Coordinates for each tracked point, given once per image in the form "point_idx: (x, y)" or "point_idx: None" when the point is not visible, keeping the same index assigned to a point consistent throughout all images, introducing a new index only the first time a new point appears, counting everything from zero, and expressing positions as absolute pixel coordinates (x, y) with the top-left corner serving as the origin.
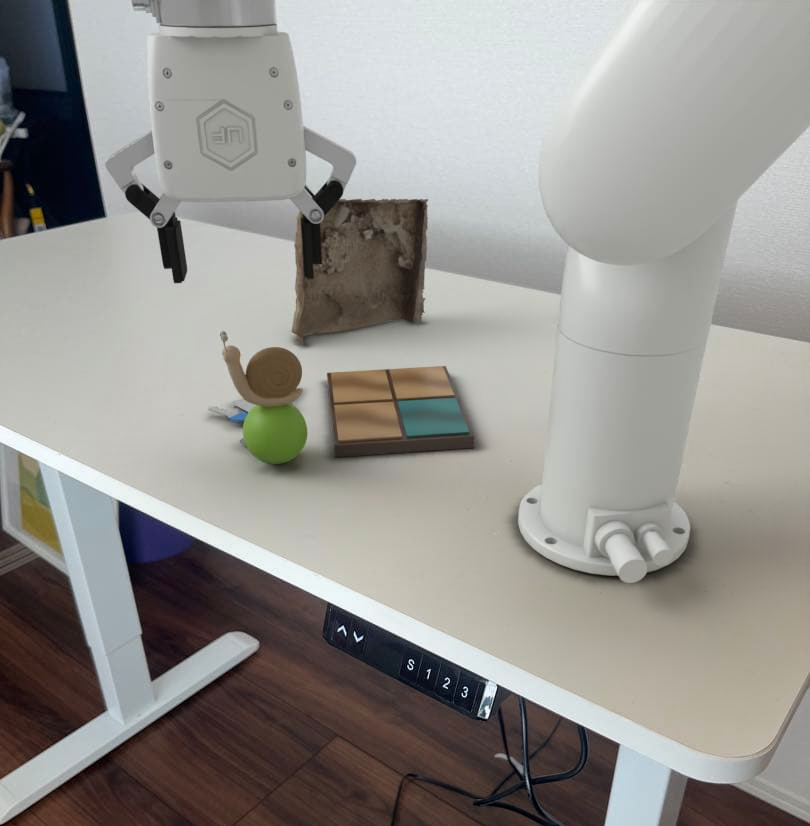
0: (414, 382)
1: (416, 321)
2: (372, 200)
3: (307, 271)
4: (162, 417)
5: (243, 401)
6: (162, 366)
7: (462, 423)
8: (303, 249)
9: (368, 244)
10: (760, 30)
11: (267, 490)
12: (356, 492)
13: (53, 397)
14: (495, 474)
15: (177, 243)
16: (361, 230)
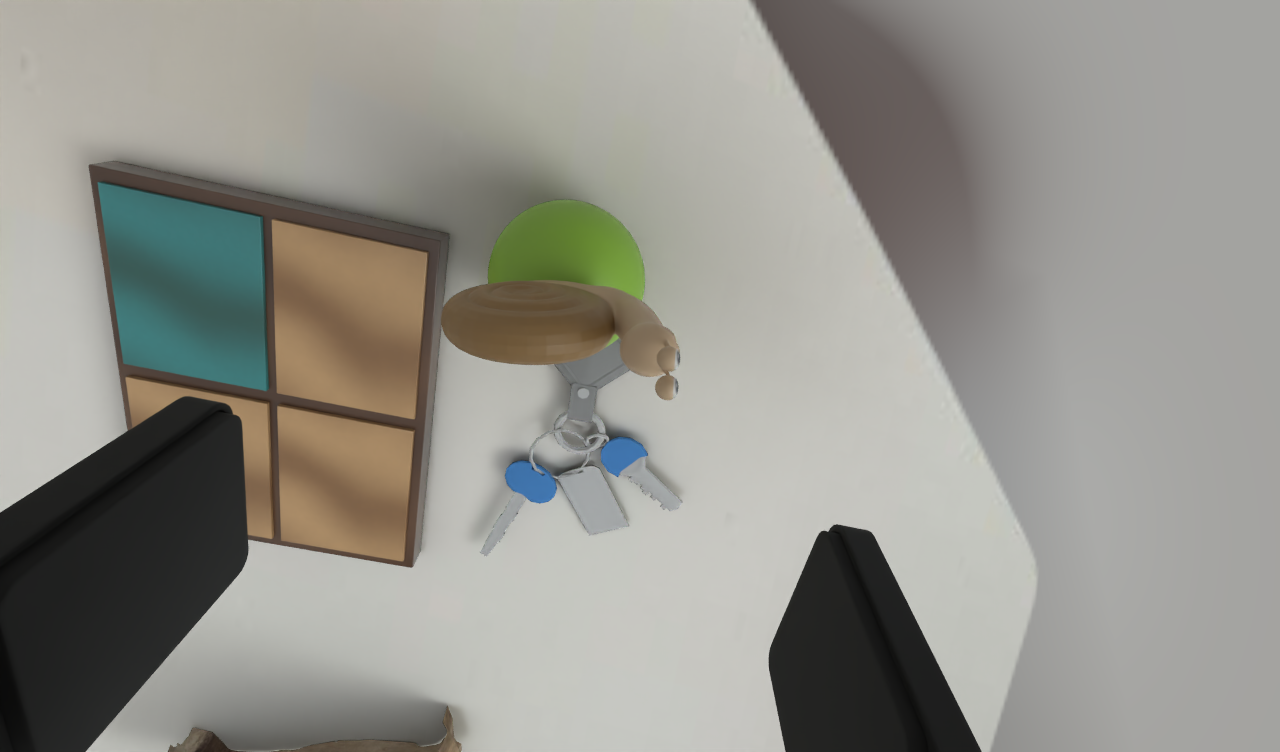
0: None
1: (202, 733)
2: None
3: (197, 416)
4: (768, 519)
5: (603, 523)
6: (726, 703)
7: (112, 230)
8: (121, 488)
9: None
10: None
11: (622, 140)
12: (424, 51)
13: (940, 650)
14: (68, 8)
15: (884, 677)
16: None
